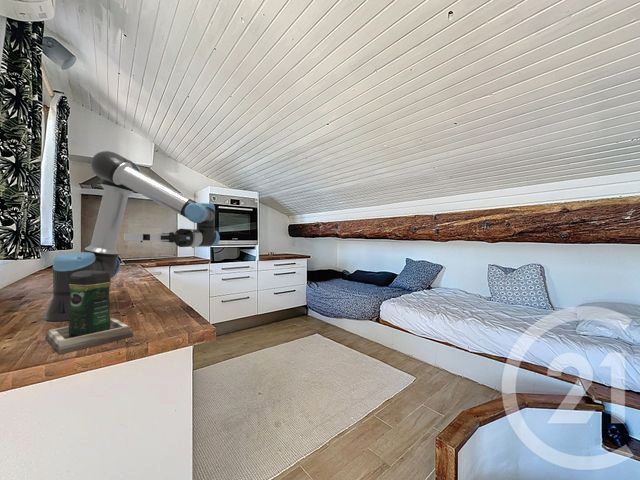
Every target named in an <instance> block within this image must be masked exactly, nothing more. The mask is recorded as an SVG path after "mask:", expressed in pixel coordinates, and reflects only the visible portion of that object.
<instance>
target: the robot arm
mask: <svg viewBox="0 0 640 480" xmlns="http://www.w3.org/2000/svg"><path fill="white" fill-rule="evenodd" d="M90 167H91V170H92V172H93V173H94V174H95V175H96V176H97V177H98V178H100V179H101V183H100V186H101V187H102V189H103V193H102V196H101V201H100V205H99V210H98V212H97V213H98V214H97V217H96V222H95V226H94V229H93V234H92V238H91V241H90V244H89V245H88V246H86V247H85V248H84V250H83V251H80V252H71V253H69V252H68V253H63V254H58V255H56V256H55V257H54V259H53V265H52V273H53V274H52V299H51V301H50V304H49V305H48V308H47V310H46V313H45V319H46V321H50V322H64V321H69V318H70V302H71V294H70V287H69V280H70V276H71V275H72V274H73V273H74V272H78V271H86V270H95V271H106V272H107V273H109V274H110V280H111V279H112V278H114V277H116V276H117V275H118V274H119V272H120V270H121V266H122V265H121V261H120V259H119V254H120V252H119V251H118V250H117V249H116V248H117V245H118V241H119V236H120V233H121V228H122V224H123V219H124V215H125V212H126V208H127V203H128V199H129V196H130V195H133V194H134V192H136V193H138V194H140V195H142V196H144V197H146V198H148V199H150V200H151V201H153V202H155V203H157V204H159V205H161V206H163V207H165V208H167V209H169V210H171V211H172V212H175V213H176V214H178V215H180V216H182V217H184V218H186V219H187V220H188V221H190V222H192V223H194V224H196V229H195V228H178V229H177V230H175V232H174V231H173V232H171V231H169V232H168V233H167V232H166V233H165V232H162V233H153V232H152V233H135V232H134V233H131V232H129V233H128V232H124V233H123V241H124V242H125V241H127V242H131V241H132V242H137V241H138V242H140V243H143V241H149V242H162V243H172V244H173V243H175V245H176V247H179V248H191V249H195V248H196V247H197V248H198V247H199V248H200V247H203V248H204V247H208V248H209V247H215V246H217V245H218V244H219V242H220V239H221V238H220V237H221V236H220V233H219V232H218V231H217V230H215V224H216V223H215V220H216V218H215V217H216V216H215V215H216V209H215V208H216V207H215V205H214V204H213V203H209V202H197V201H196V200H193V199H191V198H189V197H188V196H186V195H184V194H182V193H180V192H179V191H176V190H175V189H173V188H171V187H170V186H168V185H165V184H163V183H161V182H159V181H158V180H156V179H154V178H152V177H150V176H149V175H147V174H144V173H143V172H142V171H141V169H140V167H139V166H138V165H137V164H136V163H135V162H133V161H132V160H130V159H127V158H125V157H123V156H122V155H121V154H119V153H117V152H114V151H109V150H103V151H99V152H98V153H96V154H94V155H93V157H92V158H91V161H90Z"/></svg>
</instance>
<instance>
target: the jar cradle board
mask: <svg viewBox="0 0 640 480" xmlns="http://www.w3.org/2000/svg"><path fill="white" fill-rule="evenodd" d="M130 329H131V328H130V326H129V325H127V324H126V323H124V322H121V320H118V319H116V318H114V317H110V330H106V331H101V332H96V333H92V334H87V335H82V336H78V337H76V336H71V335H69V325H67V326H63V327H57V328H53V329H52V328H51V329H48V333H46V334H45V339H46V340H47V341H48V343H50V345H51V346H52V347H53V348H54V350H55V351H56V352H57V353H58V354H59V355H62V354H66V353H70V352H71V353H72V352H76V351H79V350H83V349H87V348H92V347H96V346H99V345H104V344H107V343H111V342H112V343H113V342H115V341H121V340H125V339H129V338H133V337H134V332H133V331H131V330H130Z"/></svg>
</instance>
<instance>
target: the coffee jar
mask: <svg viewBox="0 0 640 480" xmlns="http://www.w3.org/2000/svg"><path fill="white" fill-rule="evenodd" d="M111 283H112V281H111V279H110V274H109V273H107V272H106V271H95V270H86V271H78V272H74V273H73V274H72V275H71V276H70V280H69V287H70V294H71V302H70V318H69V320H68V321H69V322H68V326H69V335H71V336H76V337H78V336H82V335H87V334H92V333H96V332H101V331H106V330H110V318H111V313H110V312H111V311H110V289H111Z"/></svg>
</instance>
